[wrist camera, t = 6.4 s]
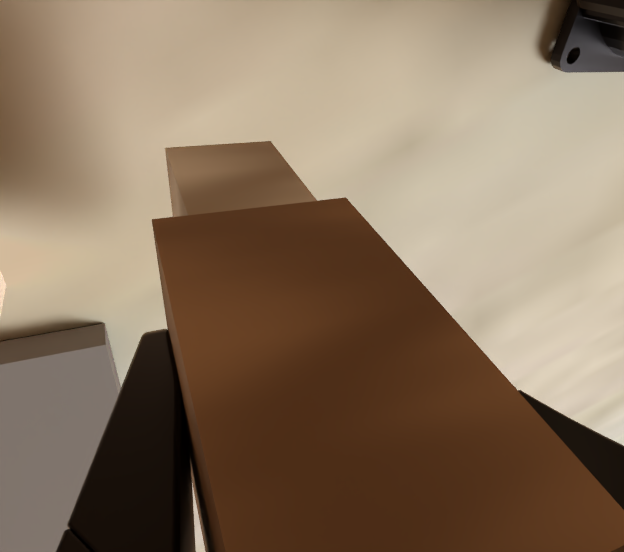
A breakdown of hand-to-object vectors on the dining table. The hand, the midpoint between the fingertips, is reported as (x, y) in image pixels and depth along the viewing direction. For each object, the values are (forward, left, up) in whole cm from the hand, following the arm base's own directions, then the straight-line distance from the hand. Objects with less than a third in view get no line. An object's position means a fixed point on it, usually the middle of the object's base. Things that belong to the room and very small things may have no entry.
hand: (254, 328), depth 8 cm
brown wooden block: (0, 0, -2) cm, 2 cm away
